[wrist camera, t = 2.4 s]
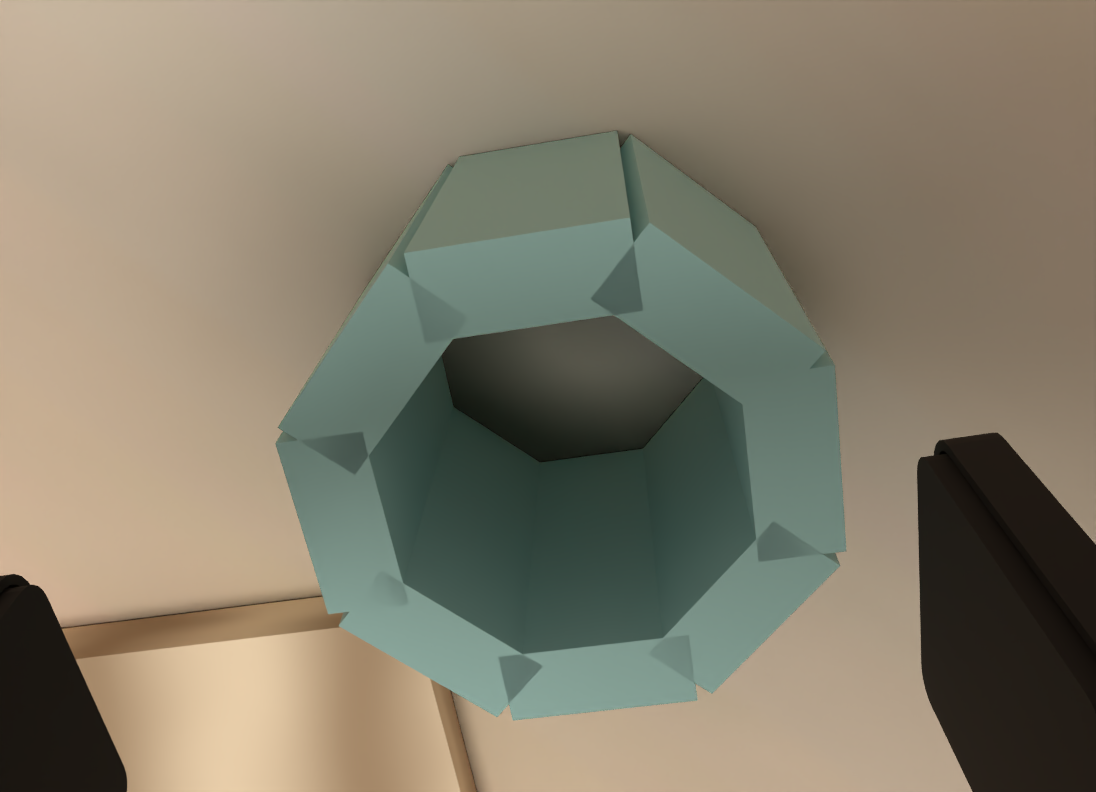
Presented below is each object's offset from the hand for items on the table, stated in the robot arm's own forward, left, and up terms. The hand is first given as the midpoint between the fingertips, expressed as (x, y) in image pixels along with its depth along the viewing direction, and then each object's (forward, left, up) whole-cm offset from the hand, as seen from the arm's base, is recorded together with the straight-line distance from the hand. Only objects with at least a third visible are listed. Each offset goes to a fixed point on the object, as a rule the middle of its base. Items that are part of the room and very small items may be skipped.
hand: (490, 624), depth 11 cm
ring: (-1, 0, -9) cm, 9 cm away
